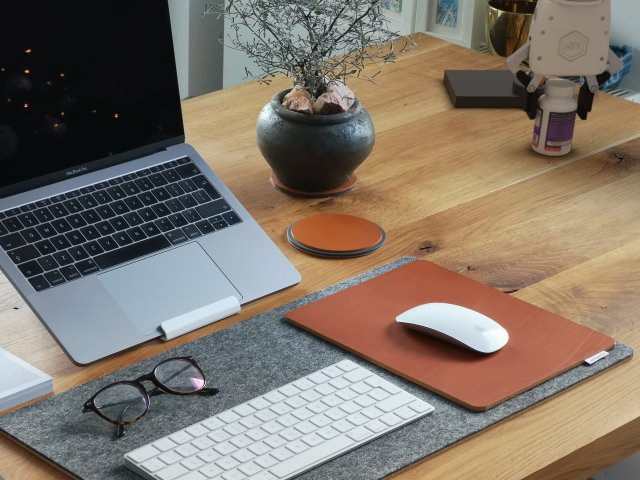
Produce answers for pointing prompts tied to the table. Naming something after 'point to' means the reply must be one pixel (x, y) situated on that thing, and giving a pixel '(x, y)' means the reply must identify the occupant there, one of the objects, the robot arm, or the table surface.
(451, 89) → the scale
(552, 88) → the pill bottle
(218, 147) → the table surface
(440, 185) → the table surface
